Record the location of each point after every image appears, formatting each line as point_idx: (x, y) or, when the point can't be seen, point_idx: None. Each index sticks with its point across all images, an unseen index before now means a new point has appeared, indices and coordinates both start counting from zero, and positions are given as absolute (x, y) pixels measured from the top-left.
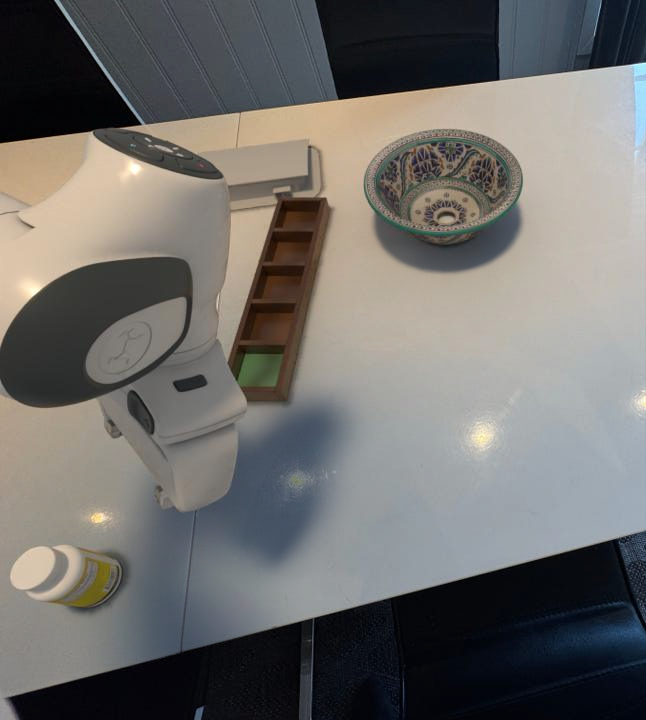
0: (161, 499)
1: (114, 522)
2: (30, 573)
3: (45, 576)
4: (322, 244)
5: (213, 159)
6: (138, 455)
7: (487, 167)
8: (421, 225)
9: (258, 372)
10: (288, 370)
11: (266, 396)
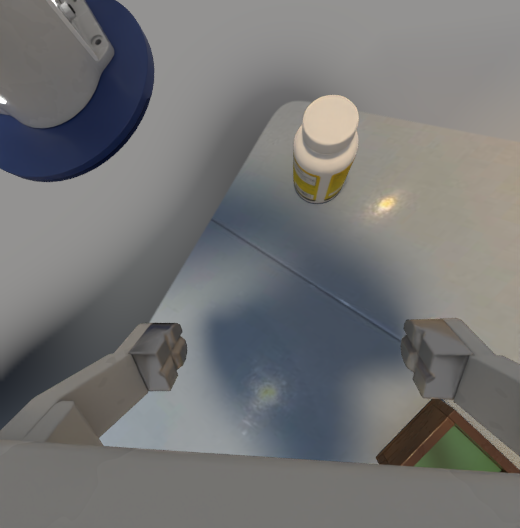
0: (129, 343)
1: (368, 215)
2: (324, 115)
3: (306, 128)
4: None
5: None
6: (107, 467)
7: None
8: None
9: (450, 462)
10: None
11: (398, 449)
